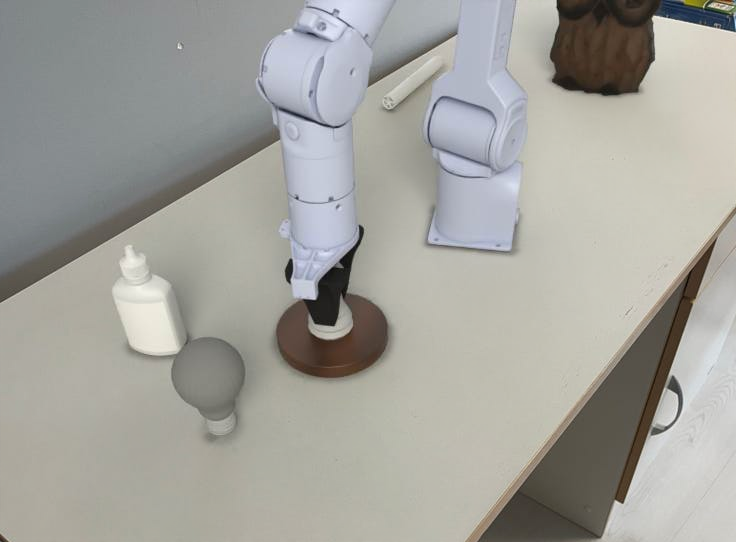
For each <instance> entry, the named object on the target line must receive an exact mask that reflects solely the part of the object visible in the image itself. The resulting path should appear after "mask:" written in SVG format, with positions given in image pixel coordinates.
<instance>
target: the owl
mask: <svg viewBox="0 0 736 542" xmlns="http://www.w3.org/2000/svg"><path fill="white" fill-rule="evenodd" d="M555 1H556V7H555V9H556V10H557V15H558V25H557V29H556V31H555V34H554V39H553V42H552V45H551V48H550V51H549V59H550V61H551V62H552V63H553V66H554V71H555V73H554V77H552V79H551V82H552V83H554V84H556V85H557V86H559V87H561V88H563V89H564V90H567V91H570V92H571V91H575V92H576V91H579V92H580V91H582V92H583V93H585V94H597V95H598V94H600V95H602V96H604V97H607V96H620V95H623V94H630V93H631V94H632V93H639V91H640V90H639V88H640V85H641V84H642V82H643V80H644V78H645V77H646V75H647V73H648V72H649V70H650V68H651V65H652V64H653V63H654V62H655V60H656V46H655V32H654V20H653V18H654V16H655V15H656V14H657V13H658V12H659V10H660V9H661V8H662V1H663V0H555Z"/></svg>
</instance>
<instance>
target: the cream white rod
mask: <svg viewBox="0 0 736 542" xmlns="http://www.w3.org/2000/svg"><path fill="white" fill-rule="evenodd" d="M444 61H445V58H444V57H443V56H442V55H435V56H433V57H430V59H428V60H427V61H426V62H425V63H424V64H423V65H421V66H420V67H419V68H417V69H416V70H414V72H413V73H411V74H410V75H409V76H408V77H407V78H405V79H404V80H403V81H402V82H400V83H399V84H398V85H397V86H396V87H394V88H393V89H392V90H391V91H389V92H388V93H387V94H386V95H384V97H383V98H382V105H383V107H384V108H386V109H387V110H393V109H395V108H396V107H397V106H398V105H399V104H400V103H401V102H403V101H404V100H405V99H406V98H407V97H408V96H409V95H411V94H412V93H413V92H414V91H415V90H417V89H418V88H419V87H420V86H421V85H423V83H425V82H426V81H427V80H428V79H429V78H431V77H432V76H433V75H434V74H436V73H437V72H438V71H439V70H440V69H441V68H442V67H443V65H444Z"/></svg>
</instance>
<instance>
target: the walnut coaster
mask: <svg viewBox="0 0 736 542" xmlns="http://www.w3.org/2000/svg"><path fill="white" fill-rule="evenodd" d="M343 301H344V302H345V303H346V305H347V306H348V307H349V309H350V310H351V313H352V319H353V327H352V328H351V330H350V332H349V333H348V334H346V335H345V336H344V337H342V338H340V339H337V340H323V339H320V338H318V337H317V336H315V335H314V334H312V333H311V331H310V330H309V328H308V323H309V321H308V316H309V311H308V309H307V306H306V304H305V302H304V300H303V299H300V300H298V301H296V302H295V303H293V304H292V305H291V306H289V307H287V309H286V310H284V312H283V314H281V316H280V317H279V320H278V322H277V325H276V333H275V334H276V340H277V341H276V342H277V346H278V351H279V354H280V356H282V359H283V360H284V361H285V362H286V363H287V364H288V365H289V366H290V367H292V368H293V369H295V370H296V371H298V372H300V373H303V374H305V375H309V376H312V377H315V378H316V377H317V378H323V379H328V378H329V379H331V378H333V379H334V378H335V379H337V378H344V377H349V376H352V375H355V374H358V373H361V372H362V371H364V370H366V369H368V368H369V367H371V366H372V365H374V364H375V363H376V362H377V361H378V360H379V359H380V358H381V356H382V355H383V353H384V352H385V350H386V348H387V345H388V341H389V340H388V339H389V338H388V320H387V318H386V316H385V314H384V312H383V310H382V309H381V308H380V307H379V306H378V305H377V304H376V303H374V302H373V301H371V300H370V299H368V298H366V297H363V296H361V295H358V294H355V293H350V292H347V293H346V296H345V299H343Z"/></svg>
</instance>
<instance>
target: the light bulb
mask: <svg viewBox="0 0 736 542" xmlns="http://www.w3.org/2000/svg"><path fill="white" fill-rule="evenodd" d="M245 366H246V365H245V362H244V359H243V357H242V355H241V354H240V352H239V351H238V350H237V348H236V347H235V346H233V345H232V344H231V343H230V342H228V341H226V340H224V339H223V338H222V339H221V338H219V337H214V336H203V337H197V338H195V339H193V340H190V341H189V342H186V343H185V345H184V347H183V348H181V350H180V351H179V352H178V353H177V354H175V357H174V359H173V361H172V365H171V369H170V379H171V383H172V385H173V388H174V390H175V392H176V393H177V395H178V396H179V397H180V398H181V399H182V400H183V401H184V402H185V403H187V404H188V405H190V406H191V407H194V408H196V409H197V411H198V413H199V414H200V415H201V416H202V417H203V418H204V420H205V422H206V426H207V430H208V431H209V432H210V433H211V434H212V435H215V436H224V435H226V434H229V433H231V432H232V431H234V429H236V426H237V417H236V413H235V408H236V404H237V397H238V395H239V394H240V392H241V390H242V388H243V386H244V384H245V377H246V367H245Z"/></svg>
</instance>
